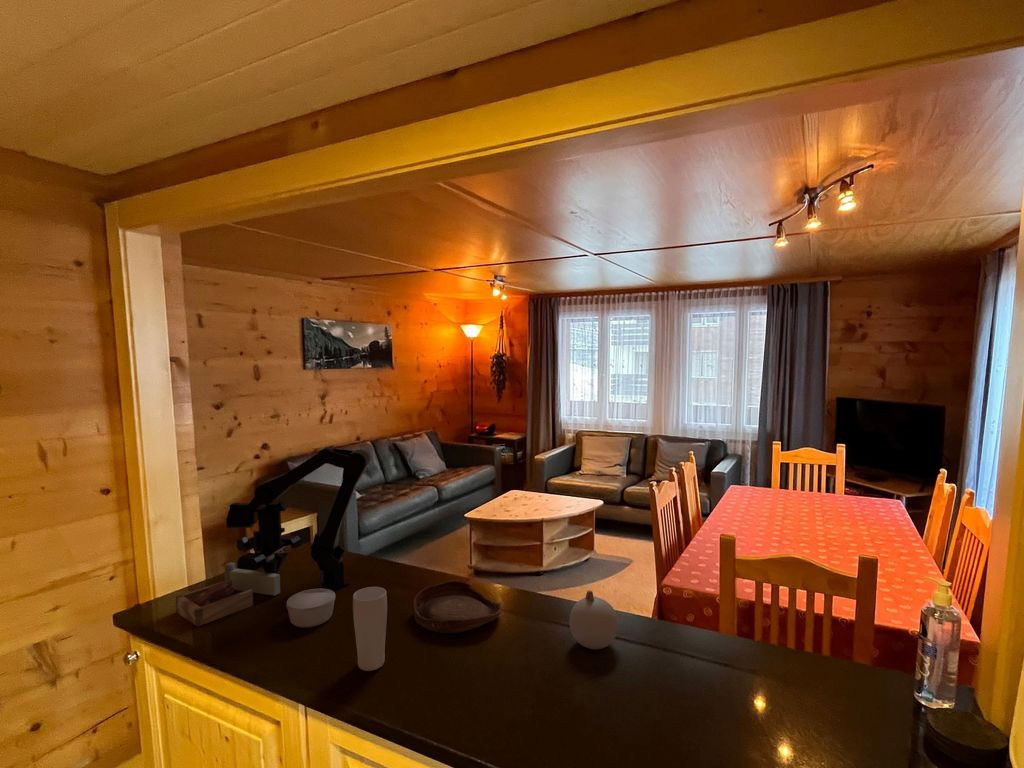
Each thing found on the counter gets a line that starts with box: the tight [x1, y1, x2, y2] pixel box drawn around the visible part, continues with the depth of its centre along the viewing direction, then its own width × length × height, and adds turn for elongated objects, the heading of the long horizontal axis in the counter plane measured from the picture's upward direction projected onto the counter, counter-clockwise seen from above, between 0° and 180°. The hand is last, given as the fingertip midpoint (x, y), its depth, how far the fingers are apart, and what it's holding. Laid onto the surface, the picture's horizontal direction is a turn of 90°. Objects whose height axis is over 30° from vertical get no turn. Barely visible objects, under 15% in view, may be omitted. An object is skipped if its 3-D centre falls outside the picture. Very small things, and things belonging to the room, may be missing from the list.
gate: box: [223, 562, 281, 597], centre depth 140 cm, size 17×3×6 cm, turn 73°
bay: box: [175, 579, 254, 627], centre depth 131 cm, size 12×13×4 cm
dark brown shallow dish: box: [412, 580, 503, 634], centre depth 125 cm, size 22×20×5 cm
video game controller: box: [193, 583, 235, 607], centre depth 131 cm, size 10×5×7 cm, turn 155°
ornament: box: [568, 589, 619, 650], centre depth 111 cm, size 10×10×12 cm
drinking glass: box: [352, 586, 388, 672], centre depth 105 cm, size 7×7×15 cm
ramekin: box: [285, 588, 336, 628], centre depth 125 cm, size 11×11×5 cm
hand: (271, 581), depth 142 cm, fingers closed
